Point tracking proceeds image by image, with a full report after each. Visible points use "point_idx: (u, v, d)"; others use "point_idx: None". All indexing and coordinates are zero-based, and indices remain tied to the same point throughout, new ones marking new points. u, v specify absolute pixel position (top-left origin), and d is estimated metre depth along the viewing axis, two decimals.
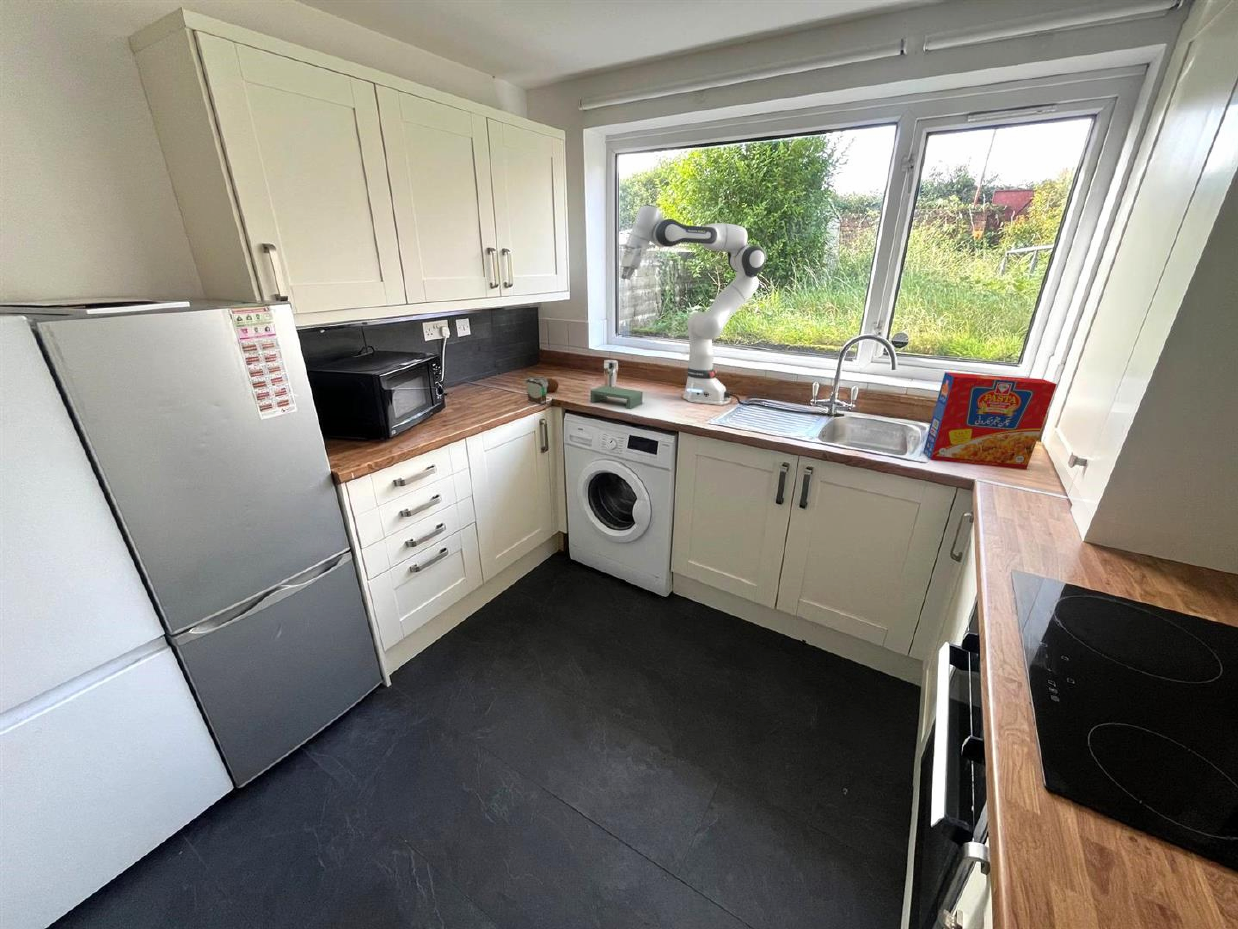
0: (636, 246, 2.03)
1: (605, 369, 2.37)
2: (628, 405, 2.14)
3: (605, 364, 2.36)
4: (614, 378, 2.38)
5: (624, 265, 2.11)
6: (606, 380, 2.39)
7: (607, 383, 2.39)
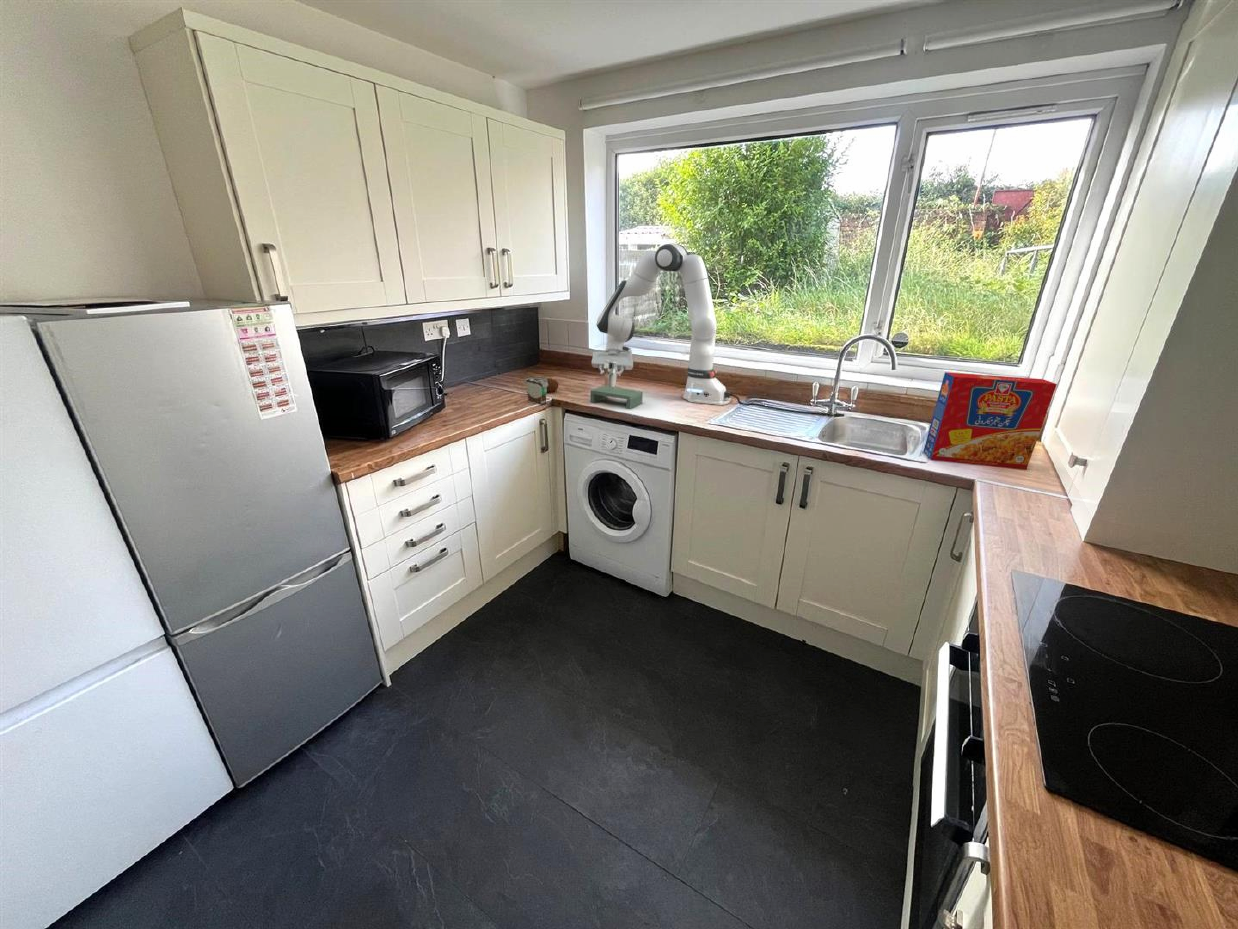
0: None
1: (605, 369, 2.37)
2: (628, 405, 2.14)
3: (605, 364, 2.36)
4: (614, 378, 2.38)
5: None
6: (606, 380, 2.39)
7: (607, 383, 2.39)
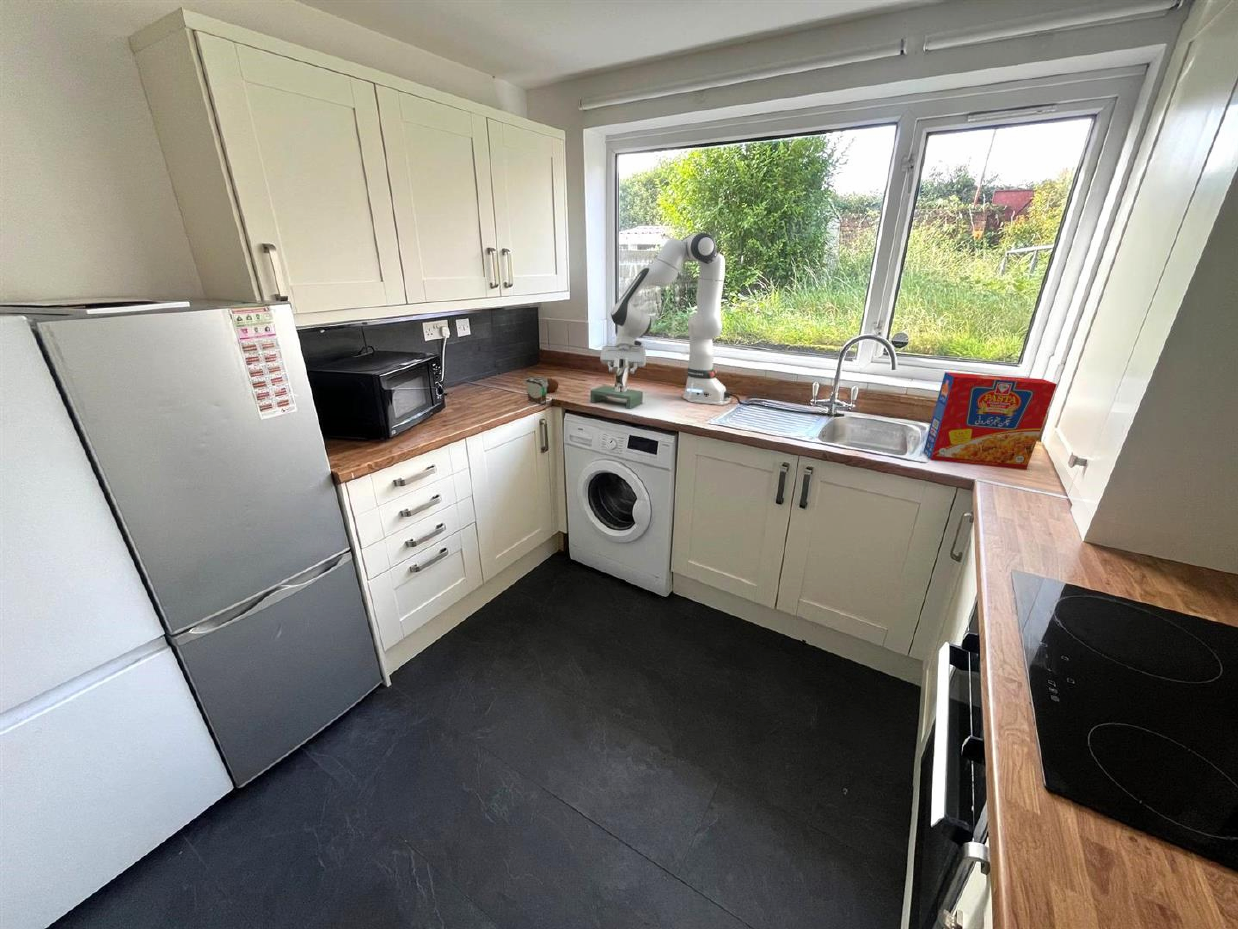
0: None
1: (615, 366, 2.14)
2: (628, 405, 2.14)
3: (615, 361, 2.13)
4: (625, 376, 2.16)
5: None
6: (616, 379, 2.16)
7: (617, 382, 2.16)
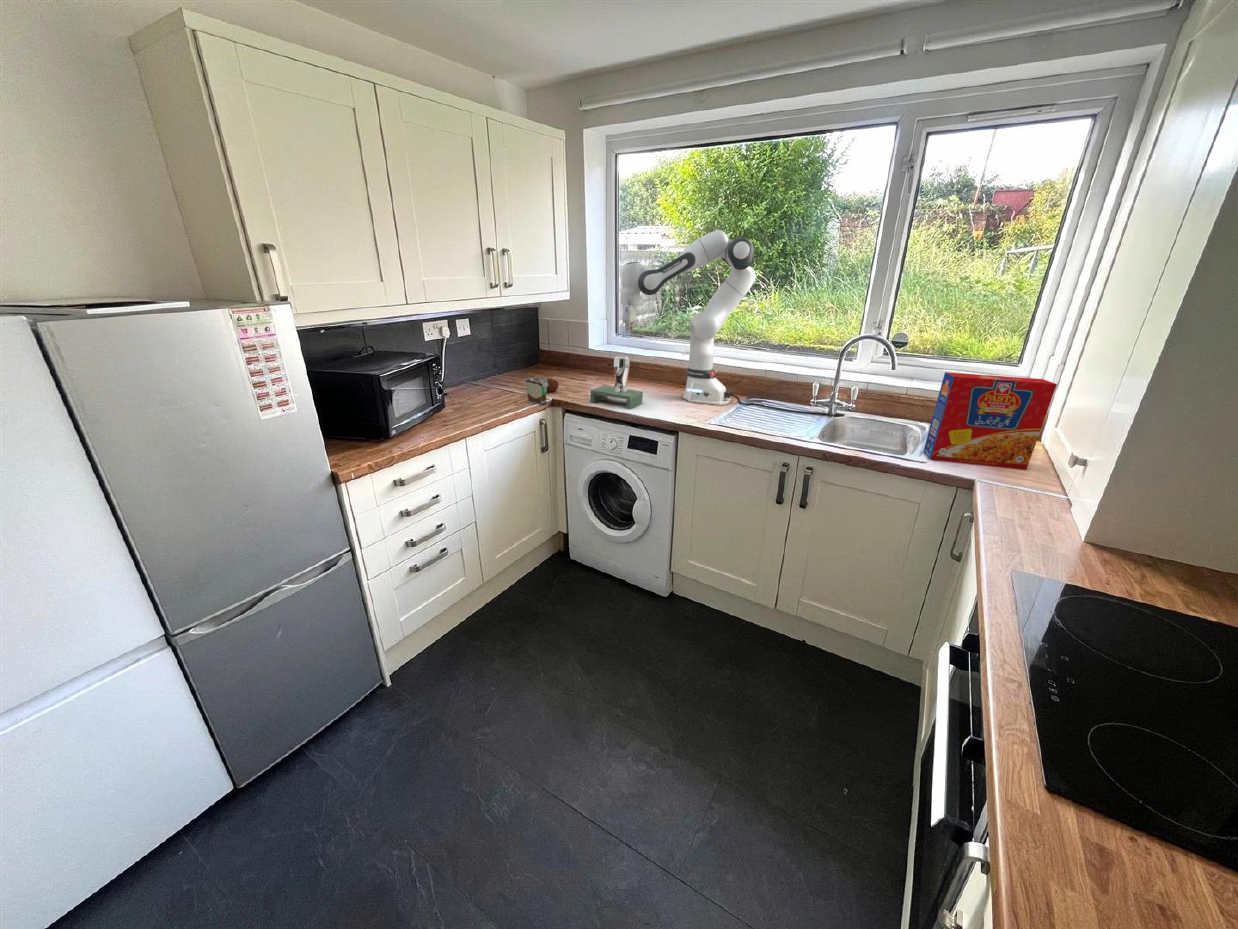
0: (626, 302, 2.22)
1: (615, 366, 2.14)
2: (628, 405, 2.14)
3: (615, 361, 2.13)
4: (625, 376, 2.16)
5: None
6: (616, 379, 2.16)
7: (617, 382, 2.16)
